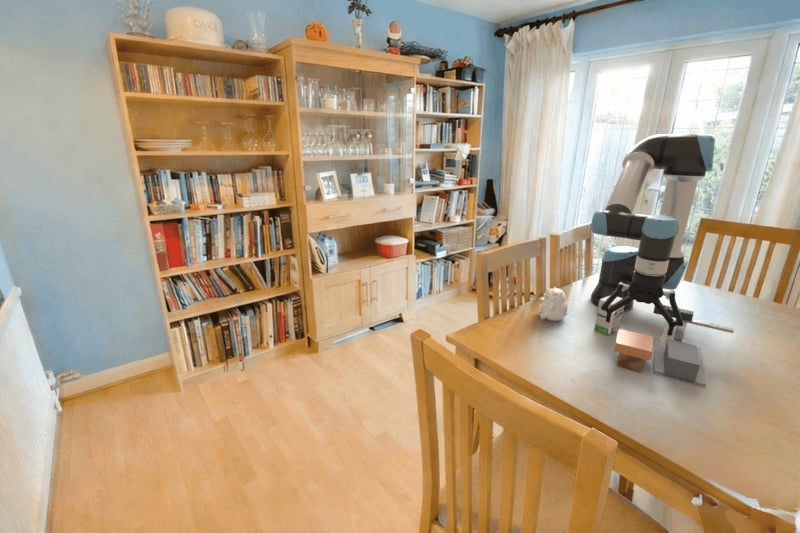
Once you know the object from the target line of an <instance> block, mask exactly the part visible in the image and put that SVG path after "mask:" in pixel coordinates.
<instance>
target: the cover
mask: <svg viewBox="0 0 800 533" xmlns="http://www.w3.org/2000/svg"><path fill="white" fill-rule="evenodd" d="M653 342H654V338H653V336H652V335H648V334H643V333H638V332H634V331H630V330H626V329H621V328H620V329H619V330H618V331H617V335H616V340H615V345H614V348H613V349H614V350H613V352H614V353H618V354H619V353H621V354H625V355H629V356H632V357H636V358H640V359H644V360H645V361H649V362H650V361H651V359H652V358H651V357H652V355H653V354H652V353H653Z"/></svg>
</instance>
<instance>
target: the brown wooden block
mask: <svg viewBox="0 0 800 533" xmlns="http://www.w3.org/2000/svg"><path fill="white" fill-rule="evenodd" d="M616 363H617V364H616V367H617V368H621V369H625V370H629V371H632V372H636V373H639V374H641V372H642V368H643V364H644V359H640V358H636V357H632V356H629V355H625V354H621V353H618V359H617V362H616Z"/></svg>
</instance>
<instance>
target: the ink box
mask: <svg viewBox="0 0 800 533" xmlns="http://www.w3.org/2000/svg"><path fill="white" fill-rule="evenodd" d="M608 298H609V296H607V297H605V298H602V299H600V300H599V306H597V312H596V318H595V324H594V329H593V331H594V332H596V333H599V334H602V335H604V336H610V335H611V334H614V333H616V332H618V330H619V329H621V325H622V321H623V320H622V319H623V315H624V311H625V310H624V306H622V307H621V308H619V309H617V310H616V311H615V314H614V319H613V324H612V329H611V333H610V334H608V328H609V322H606V316H607V312H606V311H604V310H601V306H602V304H603V303H604V302H605V301H606V300H607V299H608ZM621 299H623V298H620V297H616V298H615V300H614V301H613V302H612V303H611V304H610V305H609V307H610V306H612V305H613V304H615V303H616V302H618V301H620V300H621ZM623 310H624V311H623Z"/></svg>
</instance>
